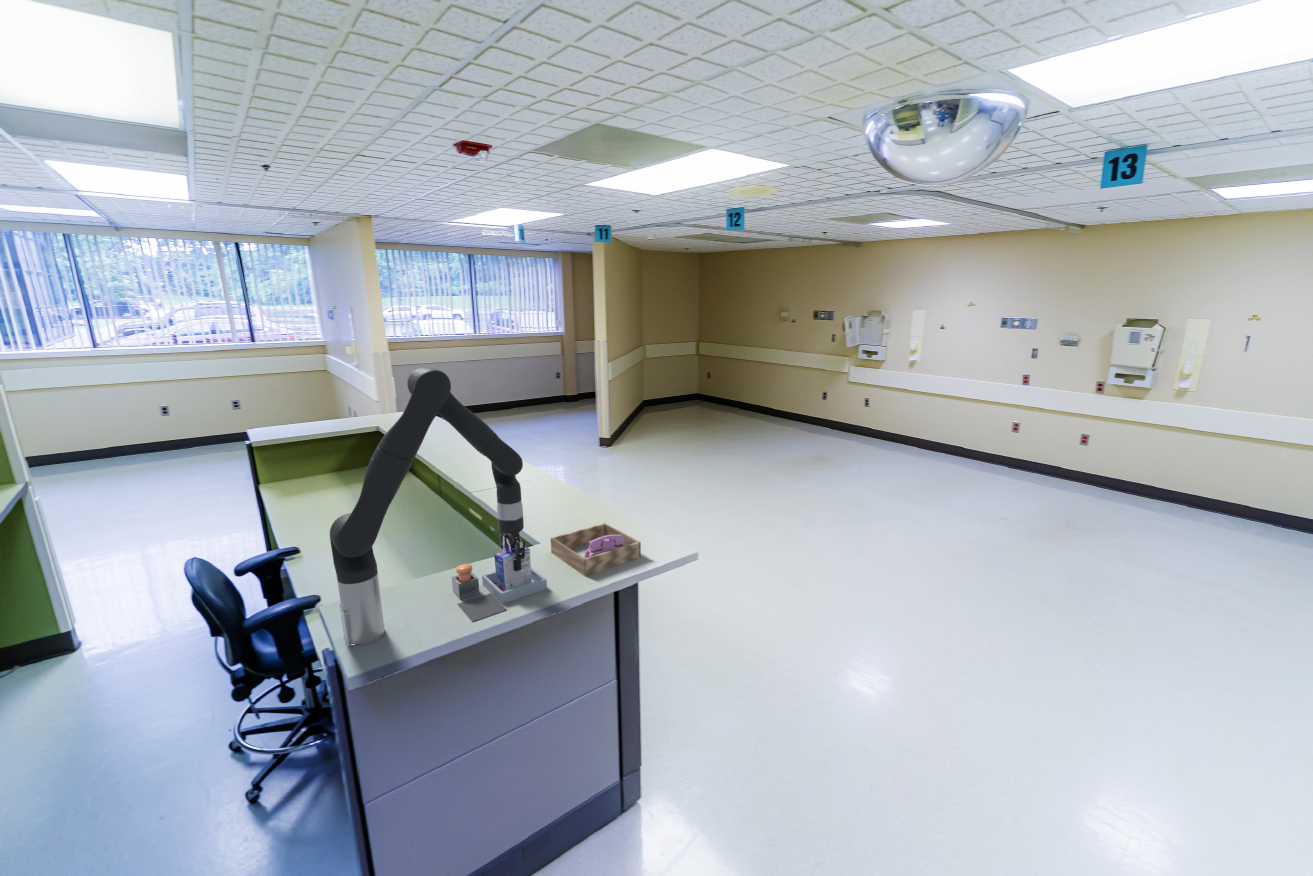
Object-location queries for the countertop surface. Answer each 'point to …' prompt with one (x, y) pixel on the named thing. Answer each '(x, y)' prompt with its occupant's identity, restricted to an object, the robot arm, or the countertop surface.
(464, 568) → the release button
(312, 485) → the countertop surface
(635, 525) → the countertop surface
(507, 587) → the ink cartridge box
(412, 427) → the robot arm
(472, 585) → the button housing
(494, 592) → the collar
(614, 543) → the toy telephone
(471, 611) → the mat
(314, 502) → the countertop surface
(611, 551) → the phone corral
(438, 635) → the countertop surface
